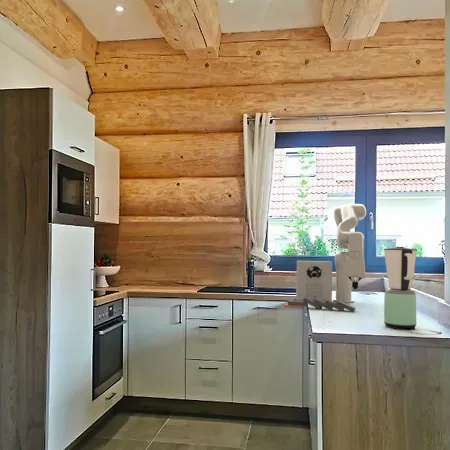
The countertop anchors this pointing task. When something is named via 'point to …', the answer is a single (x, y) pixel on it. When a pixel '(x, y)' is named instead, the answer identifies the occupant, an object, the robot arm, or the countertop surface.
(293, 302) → the domino
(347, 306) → the domino
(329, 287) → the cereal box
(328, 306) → the domino
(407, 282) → the juicer
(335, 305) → the domino
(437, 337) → the countertop surface
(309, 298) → the domino
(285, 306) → the domino
